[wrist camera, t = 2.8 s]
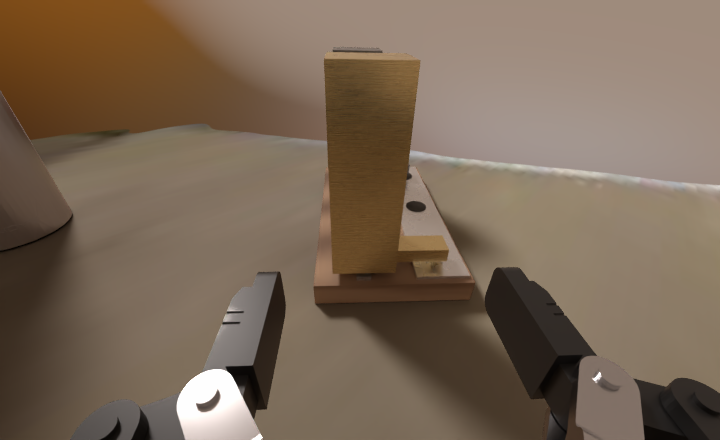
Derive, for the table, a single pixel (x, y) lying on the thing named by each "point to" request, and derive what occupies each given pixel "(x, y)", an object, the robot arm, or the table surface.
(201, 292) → the table surface
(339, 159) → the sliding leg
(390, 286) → the divider base
